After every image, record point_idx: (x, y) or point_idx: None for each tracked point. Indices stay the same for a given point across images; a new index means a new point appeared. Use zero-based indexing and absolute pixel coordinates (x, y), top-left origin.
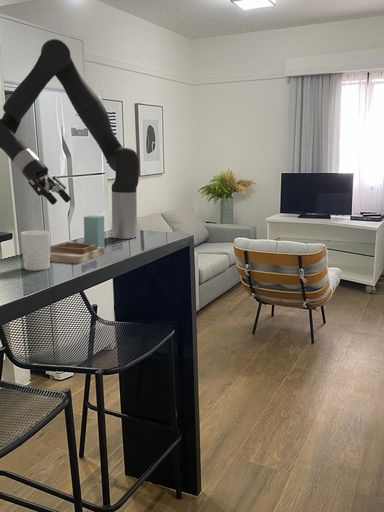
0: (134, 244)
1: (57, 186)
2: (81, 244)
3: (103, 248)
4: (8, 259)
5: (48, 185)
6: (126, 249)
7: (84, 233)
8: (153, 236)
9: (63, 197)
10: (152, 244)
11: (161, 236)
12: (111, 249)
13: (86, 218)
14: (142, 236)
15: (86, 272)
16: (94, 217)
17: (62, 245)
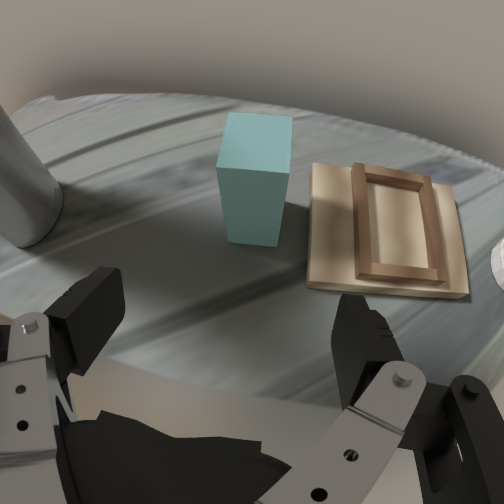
0: (143, 147)
1: (55, 381)
2: (368, 207)
3: (317, 164)
4: None
5: (351, 418)
6: None
7: (281, 216)
8: None
9: (101, 332)
10: (140, 113)
11: (32, 138)
12: None
13: (289, 165)
14: None
15: (481, 164)
16: (287, 129)
17: (397, 267)
